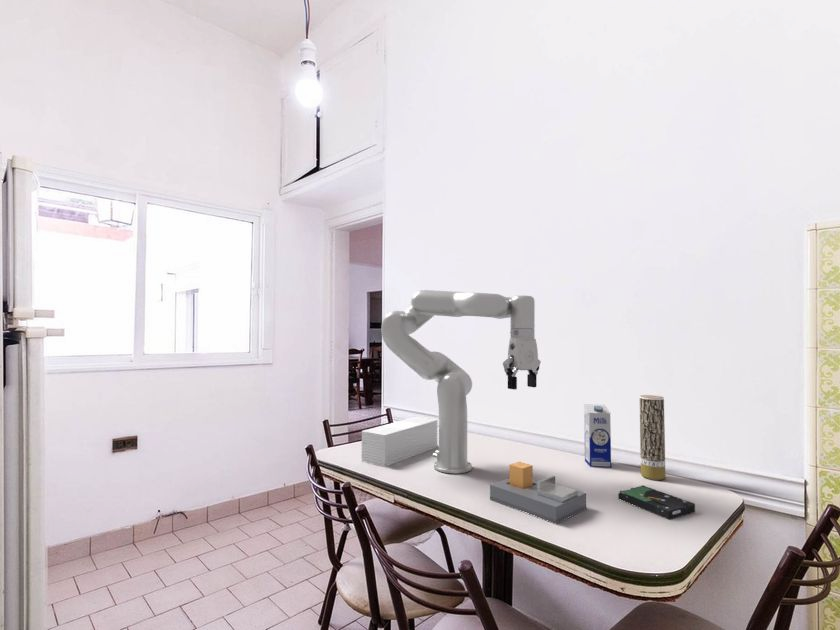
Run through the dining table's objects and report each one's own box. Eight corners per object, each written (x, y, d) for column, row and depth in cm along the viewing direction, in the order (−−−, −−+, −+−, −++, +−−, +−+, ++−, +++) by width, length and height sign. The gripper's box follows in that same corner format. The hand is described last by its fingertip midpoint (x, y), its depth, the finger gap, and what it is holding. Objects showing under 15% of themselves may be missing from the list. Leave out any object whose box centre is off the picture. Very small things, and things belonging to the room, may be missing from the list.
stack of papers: (415, 443, 179) (415, 416, 180) (437, 447, 173) (437, 419, 173) (361, 461, 153) (361, 430, 154) (384, 467, 147) (384, 435, 147)
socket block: (490, 499, 118) (490, 484, 118) (521, 487, 127) (521, 473, 127) (556, 524, 103) (555, 506, 103) (586, 508, 112) (586, 492, 112)
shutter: (537, 494, 111) (537, 481, 111) (552, 487, 115) (552, 475, 116) (562, 502, 106) (562, 488, 106) (577, 495, 110) (577, 482, 110)
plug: (509, 494, 119) (509, 464, 119) (519, 490, 122) (519, 461, 122) (522, 499, 116) (522, 468, 116) (532, 495, 118) (532, 465, 119)
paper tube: (641, 472, 141) (640, 394, 142) (665, 476, 138) (664, 396, 139) (640, 478, 135) (638, 397, 136) (665, 482, 132) (663, 398, 133)
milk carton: (605, 461, 153) (604, 404, 154) (611, 467, 147) (610, 407, 147) (584, 461, 154) (583, 403, 155) (589, 466, 147) (589, 406, 148)
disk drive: (696, 514, 110) (643, 494, 123) (695, 503, 110) (642, 484, 123) (669, 522, 105) (617, 500, 119) (669, 510, 106) (617, 490, 119)
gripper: (513, 334, 132) (513, 391, 131) (548, 334, 143) (548, 387, 142) (495, 334, 138) (494, 388, 137) (530, 334, 149) (529, 385, 148)
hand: (522, 387), depth 140 cm, fingers open, 9 cm apart
